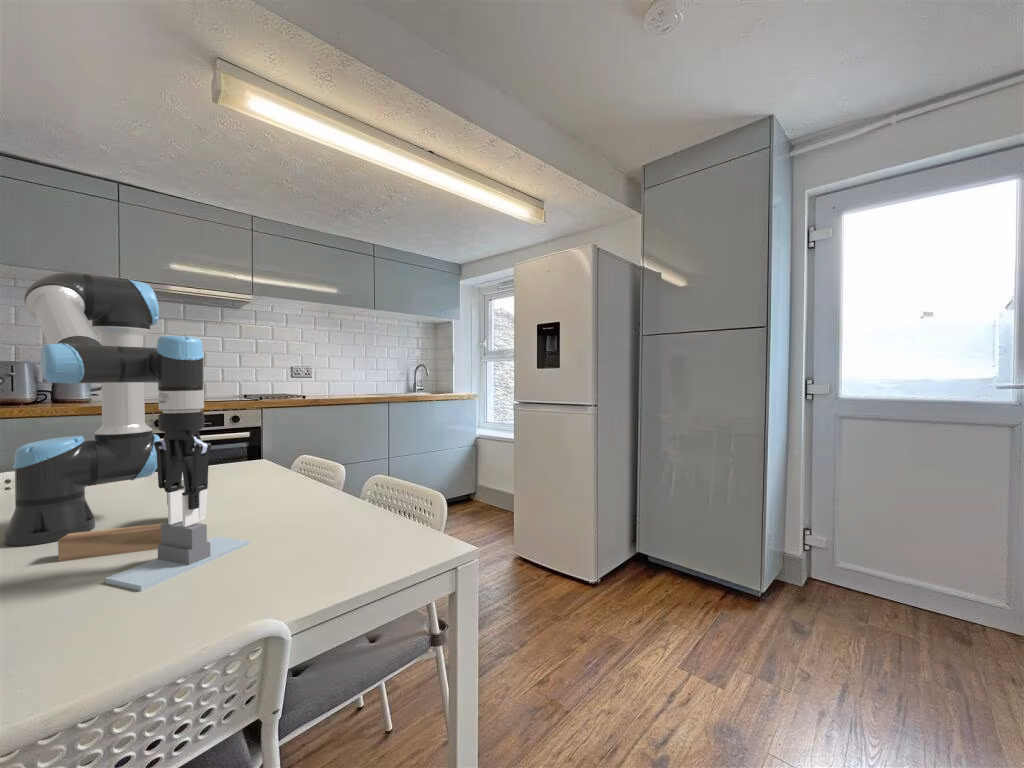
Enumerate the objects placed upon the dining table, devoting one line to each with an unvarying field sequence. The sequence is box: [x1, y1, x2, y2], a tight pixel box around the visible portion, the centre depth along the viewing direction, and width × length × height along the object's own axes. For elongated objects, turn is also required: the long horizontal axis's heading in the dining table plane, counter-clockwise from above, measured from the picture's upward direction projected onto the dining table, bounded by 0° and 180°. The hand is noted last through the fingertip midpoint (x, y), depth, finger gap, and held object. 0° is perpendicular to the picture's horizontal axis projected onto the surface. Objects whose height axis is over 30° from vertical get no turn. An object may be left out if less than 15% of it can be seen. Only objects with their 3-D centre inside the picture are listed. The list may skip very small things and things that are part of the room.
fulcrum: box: [104, 521, 251, 592], centre depth 90 cm, size 10×22×8 cm, turn 162°
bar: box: [57, 522, 165, 562], centre depth 96 cm, size 4×21×5 cm, turn 112°
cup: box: [179, 473, 210, 521], centre depth 116 cm, size 8×8×12 cm
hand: (183, 523), depth 90 cm, fingers closed on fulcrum, 3 cm apart
